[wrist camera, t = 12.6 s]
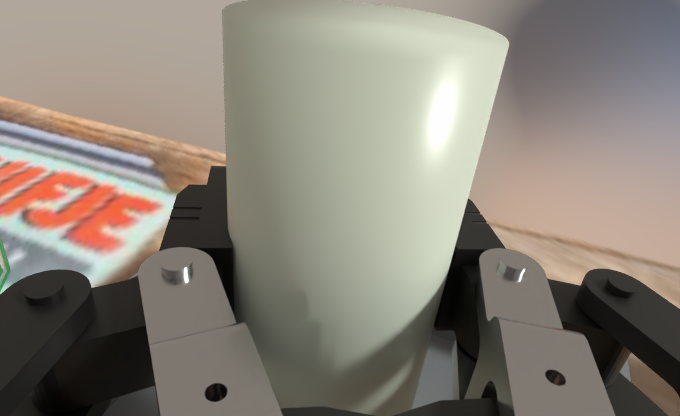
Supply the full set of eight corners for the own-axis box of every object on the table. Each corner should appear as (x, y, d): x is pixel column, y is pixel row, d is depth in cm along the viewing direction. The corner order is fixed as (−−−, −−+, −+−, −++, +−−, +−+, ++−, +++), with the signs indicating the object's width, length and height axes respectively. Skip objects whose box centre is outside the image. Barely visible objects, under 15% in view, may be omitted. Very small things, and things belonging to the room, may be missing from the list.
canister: (200, 493, 13) (155, 15, 7) (283, 370, 16) (303, -9, 10) (360, 579, 11) (488, 79, 5) (411, 423, 15) (520, 26, 9)
